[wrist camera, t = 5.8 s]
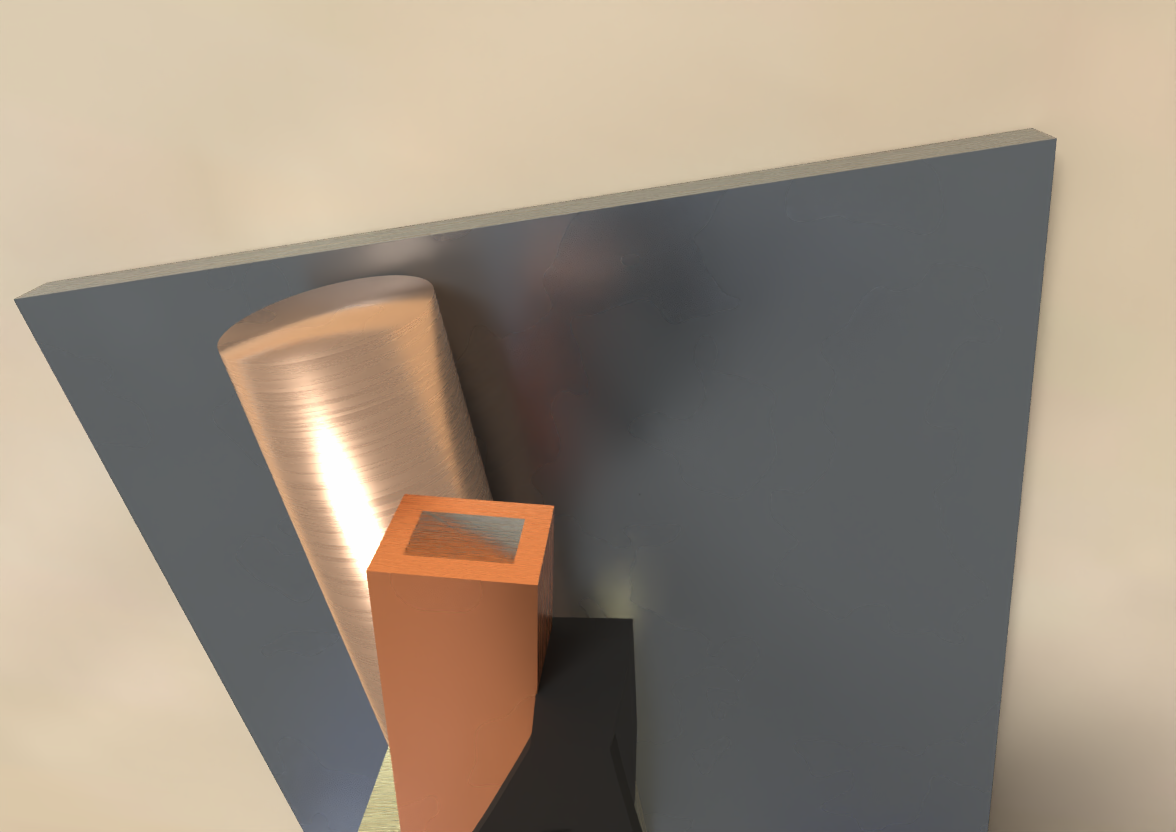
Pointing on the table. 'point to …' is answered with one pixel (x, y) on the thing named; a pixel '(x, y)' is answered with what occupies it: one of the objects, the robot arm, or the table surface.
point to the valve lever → (459, 648)
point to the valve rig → (615, 466)
